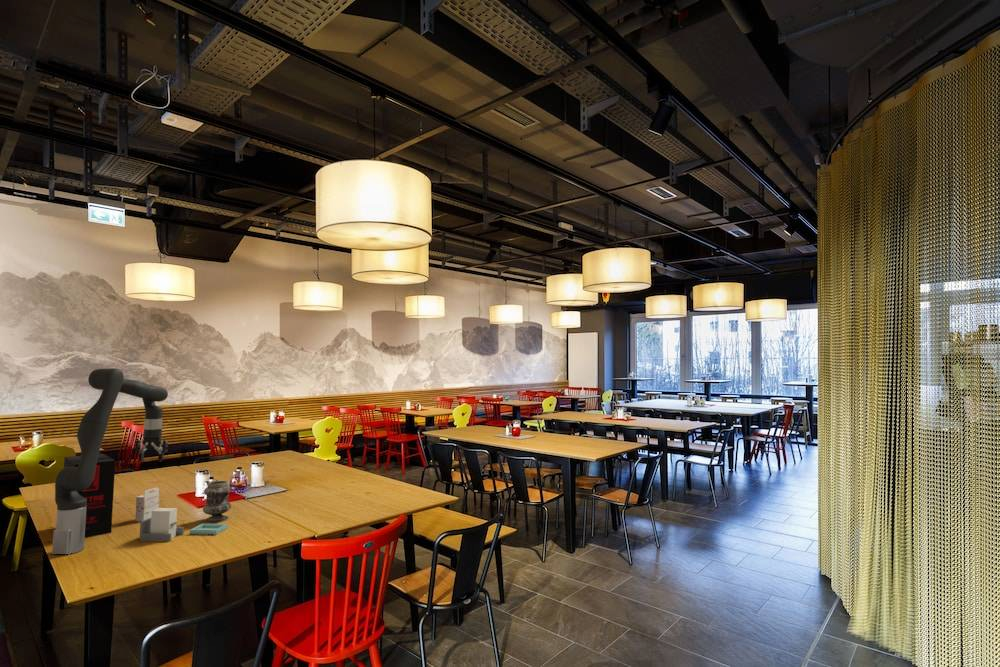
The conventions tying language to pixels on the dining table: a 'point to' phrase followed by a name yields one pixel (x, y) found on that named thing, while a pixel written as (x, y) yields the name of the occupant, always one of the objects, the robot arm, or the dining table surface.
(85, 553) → the dining table surface
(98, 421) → the robot arm
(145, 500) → the ink cartridge box
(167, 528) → the cream upright block
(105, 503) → the product box
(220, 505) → the apothecary jar
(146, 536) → the bay
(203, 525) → the tray
